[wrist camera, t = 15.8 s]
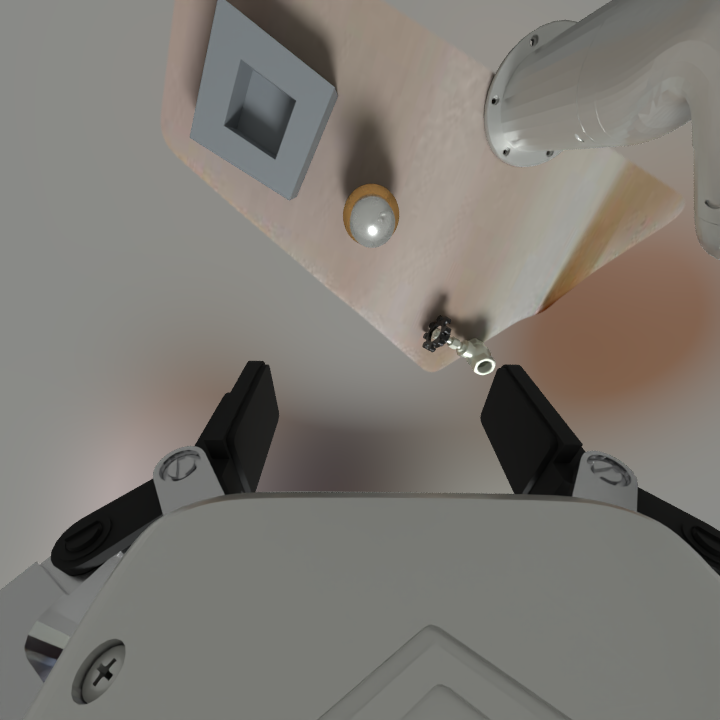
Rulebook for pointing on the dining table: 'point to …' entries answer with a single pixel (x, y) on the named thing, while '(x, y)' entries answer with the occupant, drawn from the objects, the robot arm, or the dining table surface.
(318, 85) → the housing
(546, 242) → the dining table surface
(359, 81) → the dining table surface
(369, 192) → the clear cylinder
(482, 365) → the valve
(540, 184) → the dining table surface
